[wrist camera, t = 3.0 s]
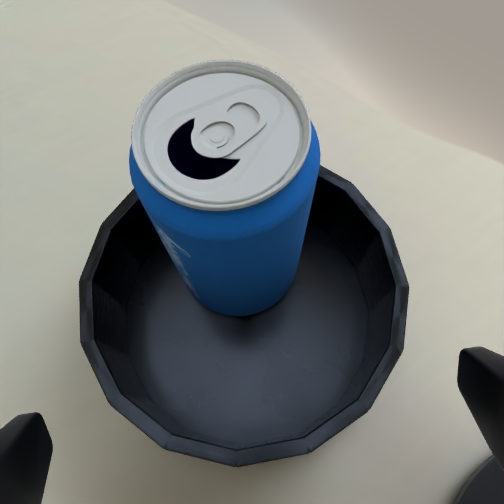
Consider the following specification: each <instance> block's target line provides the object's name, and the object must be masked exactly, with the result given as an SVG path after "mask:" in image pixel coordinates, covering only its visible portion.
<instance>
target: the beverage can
mask: <svg viewBox="0 0 504 504" xmlns="http://www.w3.org/2000/svg"><path fill="white" fill-rule="evenodd" d="M131 142H132V143H131V148H130V156H129V165H130V175H131V179H132V184H133V186H134V188H135V191H136V193H137V195H138V197H139V199H140V201H141V203H142V205H143V206H144V208H145V210H146V212H147V214H148V216H149V218H150V219H151V221H152V223H153V225H154V227H155V229H156V231H157V233H158V234H159V236H160V238H161V240H162V242H163V244H164V246H165V247H166V249H167V251H168V253H169V255H170V257H171V259H172V260H173V262H174V264H175V266H176V268H177V270H178V272H179V273H180V275H181V277H182V279H183V281H184V283H185V285H186V286H187V288H188V290H189V291H190V293H191V294H192V295H193V296H194V298H195V299H196V300H198V301H199V302H200V303H201V304H202V305H204V306H205V307H207V308H209V309H211V310H212V311H215V312H218V313H220V314H225V315H230V316H246V315H252V314H255V313H259V312H261V311H264V310H266V309H268V308H270V307H271V306H273V305H274V304H276V303H277V302H278V301H279V300H280V299H281V298H282V297H283V296H284V295H285V294H286V293H287V291H288V290H289V289H290V287H291V285H292V283H293V281H294V278H295V276H296V272H297V267H298V263H299V258H300V254H301V249H302V245H303V240H304V236H305V231H306V227H307V222H308V218H309V213H310V209H311V204H312V200H313V195H314V191H315V186H316V181H317V177H318V172H319V167H320V147H319V141H318V137H317V134H316V131H315V128H314V126H313V124H312V122H311V119H310V115H309V112H308V109H307V106H306V104H305V102H304V100H303V99H302V97H301V95H300V94H299V92H298V91H297V90H296V89H295V88H294V87H293V86H292V85H291V84H290V83H289V82H288V81H287V80H286V79H284V78H283V77H282V76H280V75H279V74H277V73H275V72H273V71H272V70H270V69H268V68H265V67H262V66H260V65H257V64H253V63H249V62H244V61H238V60H214V61H207V62H202V63H198V64H194V65H191V66H188V67H186V68H183V69H181V70H179V71H177V72H175V73H173V74H171V75H170V76H168V77H167V78H165V79H164V80H162V81H161V82H160V83H159V84H157V85H156V86H155V87H154V88H153V89H152V90H151V91H150V92H149V93H148V95H147V96H146V97H145V99H144V100H143V101H142V103H141V105H140V107H139V108H138V110H137V113H136V115H135V118H134V121H133V126H132V133H131Z"/></svg>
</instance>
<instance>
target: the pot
mask: <svg viewBox="0 0 504 504" xmlns="http://www.w3.org/2000/svg"><path fill="white" fill-rule="evenodd" d="M408 295H409V284H408V281H407V278H406V275H405V272H404V269H403V266H402V263H401V260H400V257H399V253H398V250H397V247H396V244H395V241H394V238H393V235H392V232H391V229H390V228H389V226H388V225H387V224H386V222H385V221H384V220H383V219H382V218H381V216H380V215H379V214H378V213H377V212H376V211H375V209H374V208H373V207H372V206H371V205H370V203H369V202H368V201H367V200H366V199H365V198H364V196H363V195H362V194H361V193H360V192H359V190H358V189H357V188H356V187H355V186H354V184H352V183H351V182H349V181H348V180H346V179H344V178H342V177H341V176H339V175H337V174H335V173H333V172H332V171H330V170H328V169H326V168H325V167H323V166H321V165H320V167H319V172H318V177H317V181H316V186H315V191H314V195H313V200H312V204H311V209H310V213H309V218H308V222H307V227H306V231H305V236H304V240H303V245H302V249H301V254H300V258H299V263H298V267H297V272H296V276H295V278H294V281H293V283H292V285H291V287H290V289H289V290H288V291H287V293H286V294H285V295H284V296H283V297H282V298H281V299H280V300H279V301H278V302H277V303H276V304H274V305H273V306H271V307H270V308H268V309H266V310H264V311H261V312H259V313H255V314H252V315H246V316H230V315H225V314H220V313H218V312H215V311H212V310H211V309H209V308H207V307H205V306H204V305H202V304H201V303H200V302H199V301H198V300H196V299H195V298H194V296H193V295H192V294H191V293H190V291H189V290H188V288H187V286H186V285H185V283H184V281H183V279H182V277H181V275H180V273H179V272H178V270H177V268H176V266H175V264H174V262H173V260H172V259H171V257H170V255H169V253H168V251H167V249H166V247H165V246H164V244H163V242H162V240H161V238H160V236H159V234H158V233H157V231H156V229H155V227H154V225H153V223H152V221H151V219H150V218H149V216H148V214H147V212H146V210H145V208H144V206H143V205H142V203H141V201H140V199H139V197H138V195H137V193H136V191H135V188H134V189H133V190H132V191H131V192H130V193H129V194H128V195H127V197H126V198H125V199H124V200H123V201H122V202H121V203H120V204H119V205H118V206H117V208H116V209H115V210H114V211H113V212H112V213H111V214H110V215H109V216H108V217H107V218H106V220H105V221H104V222H103V223H102V225H101V226H100V229H99V231H98V234H97V237H96V239H95V242H94V244H93V247H92V249H91V252H90V254H89V257H88V259H87V262H86V265H85V267H84V270H83V272H82V275H81V277H80V281H79V302H80V343H81V346H82V348H83V350H84V352H85V354H86V356H87V358H88V360H89V363H90V365H91V367H92V369H93V371H94V373H95V375H96V377H97V379H98V381H99V384H100V386H101V388H102V390H103V392H104V394H105V396H106V398H107V400H108V402H109V403H110V405H111V406H112V407H113V408H114V409H116V410H117V411H118V412H119V413H120V414H122V415H123V416H124V417H125V418H127V419H128V420H129V421H130V422H131V423H133V424H134V425H135V426H136V427H137V428H139V429H140V430H141V431H142V432H144V433H145V434H146V435H147V436H148V437H150V438H151V439H152V440H153V441H154V442H156V443H157V444H158V445H159V446H161V447H162V448H163V449H166V450H169V451H173V452H177V453H181V454H185V455H189V456H192V457H196V458H200V459H204V460H208V461H212V462H216V463H220V464H224V465H228V466H232V467H242V466H247V465H252V464H257V463H262V462H268V461H273V460H278V459H283V458H289V457H294V456H299V455H304V454H308V453H309V452H312V451H314V450H315V449H317V448H318V447H319V446H321V445H322V444H324V443H325V442H326V441H328V440H329V439H331V438H332V437H333V436H335V435H336V434H337V433H339V432H340V431H342V430H343V429H344V428H346V427H347V426H349V425H350V424H351V423H353V422H354V421H356V420H357V419H358V418H360V417H361V416H363V415H364V414H365V413H367V412H368V410H370V408H371V407H372V405H373V403H374V401H375V400H376V398H377V396H378V394H379V393H380V391H381V389H382V387H383V385H384V384H385V382H386V380H387V378H388V377H389V375H390V373H391V371H392V370H393V368H394V366H395V364H396V363H397V361H398V359H399V357H400V356H401V354H402V350H403V349H404V338H405V328H406V317H407V306H408Z"/></svg>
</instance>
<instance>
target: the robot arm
mask: <svg viewBox="0 0 504 504" xmlns="http://www.w3.org/2000/svg"><path fill="white" fill-rule="evenodd" d="M457 382H458V387H459V390H460V392H461V394H462V396H463V398H464V400H465V402H466V404H467V406H468V407H469V409H470V411H471V413H472V415H473V417H474V419H475V421H476V423H477V425H478V427H479V429H480V431H481V432H482V434H483V436H484V438H485V440H486V442H487V444H488V446H489V448H490V449H491V451H492V453H493V455H494V457H495V458H496V460H497V461H498V463H499V465H500V466H501V468H502V469H503V471H504V356H502V355H500V354H497V353H495V352H493V351H490V350H488V349H486V348H483V347H472V348H465V349H463V350H461V352H460V355H459V364H458V376H457ZM52 452H53V444H52V440H51V437H50V435H49V432H48V429H47V427H46V424H45V422H44V419H43V417H42V415H41V414H40V413H37V412H34V413H28V414H21V415H18V416H16V417H15V418H14V419H13V420H11V421H10V422H9V423H8V424H6V425H5V426H4V427H3V428H2V429H0V504H41V502H42V498H43V493H44V489H45V484H46V480H47V475H48V471H49V466H50V461H51V457H52Z"/></svg>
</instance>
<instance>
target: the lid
mask: <svg viewBox="0 0 504 504" xmlns="http://www.w3.org/2000/svg"><path fill="white" fill-rule="evenodd" d="M454 504H504V471H503V469H502V468H501V466H500V465H499V463H498V461H497V460H496V458H495V457H494V455H492V456H491V457H490V458H489V459H488V460H487V461H485V462H484V463H483V464H482V465H481V466H480V467H479V468H478V469H477V470H476V471H475V472H474V473H473V475H472V476H471V477H470V479H469V480H468V481H467V482H466V484H465V485H464V486H463V488H462V489H461V491H460V493H459V495H458V497H457V498H456V500H455V502H454Z"/></svg>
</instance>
